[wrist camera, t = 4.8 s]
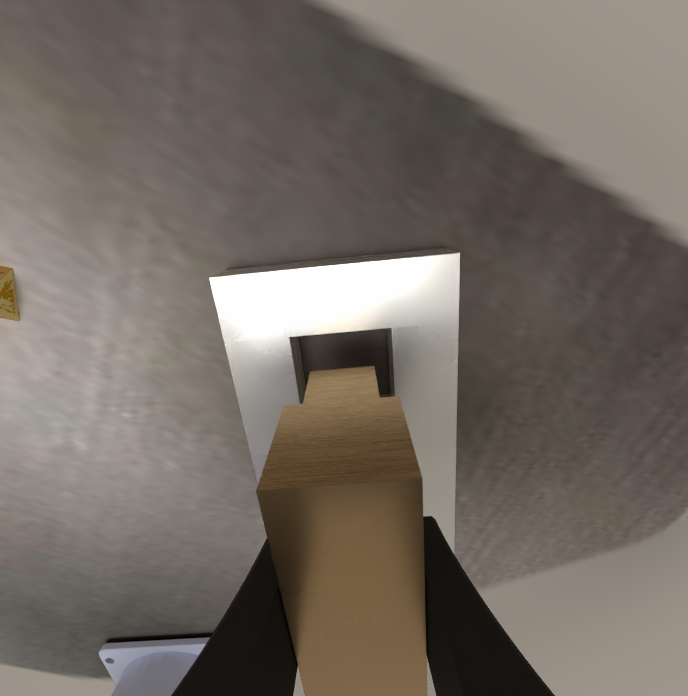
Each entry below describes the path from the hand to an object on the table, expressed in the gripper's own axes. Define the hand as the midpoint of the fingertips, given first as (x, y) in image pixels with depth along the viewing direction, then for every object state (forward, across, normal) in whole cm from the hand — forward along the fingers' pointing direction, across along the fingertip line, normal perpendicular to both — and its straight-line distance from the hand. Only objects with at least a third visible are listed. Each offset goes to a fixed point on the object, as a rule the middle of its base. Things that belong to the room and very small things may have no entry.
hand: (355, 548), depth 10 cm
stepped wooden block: (+3, 0, 0) cm, 3 cm away
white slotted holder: (+6, 0, 0) cm, 6 cm away
